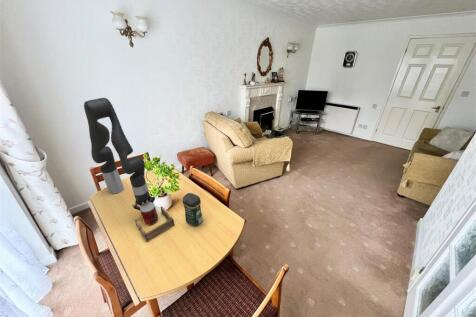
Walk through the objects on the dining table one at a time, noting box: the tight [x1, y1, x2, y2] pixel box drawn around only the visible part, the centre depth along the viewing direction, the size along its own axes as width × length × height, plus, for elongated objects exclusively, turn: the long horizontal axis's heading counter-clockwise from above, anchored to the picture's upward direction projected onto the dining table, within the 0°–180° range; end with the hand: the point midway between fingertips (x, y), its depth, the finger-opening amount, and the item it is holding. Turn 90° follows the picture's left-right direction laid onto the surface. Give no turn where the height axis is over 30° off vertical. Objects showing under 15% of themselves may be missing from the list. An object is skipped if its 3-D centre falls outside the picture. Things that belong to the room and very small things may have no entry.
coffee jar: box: [182, 192, 204, 227], centre depth 111 cm, size 10×8×19 cm
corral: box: [134, 206, 175, 243], centre depth 111 cm, size 14×16×5 cm
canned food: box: [139, 202, 159, 226], centre depth 113 cm, size 8×8×11 cm
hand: (147, 213), depth 118 cm, fingers closed
